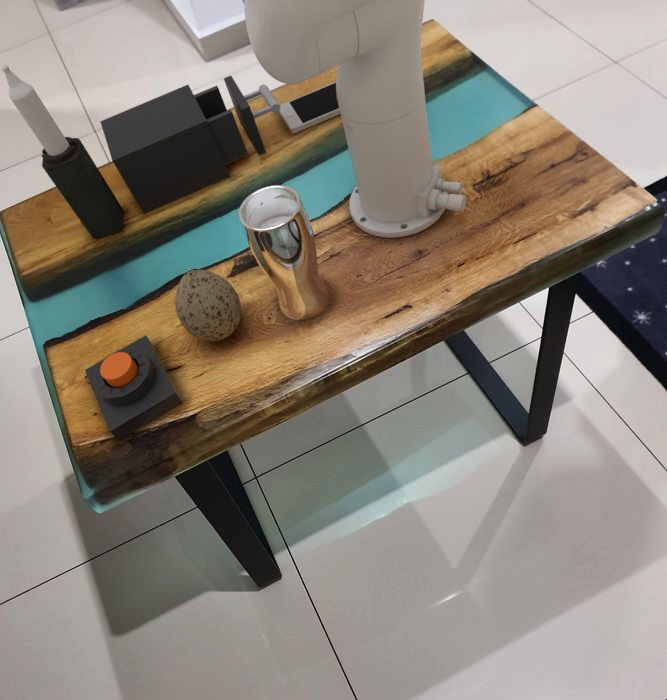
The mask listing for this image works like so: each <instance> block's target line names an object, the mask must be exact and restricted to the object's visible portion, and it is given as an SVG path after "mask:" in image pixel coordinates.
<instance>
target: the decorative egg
mask: <svg viewBox="0 0 667 700" xmlns="http://www.w3.org/2000/svg"><path fill="white" fill-rule="evenodd" d="M174 298H175V299H174V305H175V312H176V316H177V318H178V321H179V322H180V324H181V326H182V327H183V328H184V329H185V330H186V331H187V332H188V333H189V334H190V335H191V336H192V337H195V338H196V339H199V340H201V341H205V342H217V341H218V342H219V341H221V340H224V339H226V338H228V337H230V336H231V335H232V334H233V333H234V332H235V331H236V329H237V328H238V326H239V325H240V322H241V318H242V303H241V299H240V296H239V295H238V292H237V291H236V289H235V288H234V287H233V286H232V284H231V283H230V282H229V281H228V280H227V279H225V278H224V277H223V276H221V275H219V274H218V273H215V272H213V271H210V270H207V269H206V270H205V269H192V270H189V271H187V272H186V273H185V274H184V275H183V276H182V278H181V279H180V281H179V282H178V285H177V287H176V293H175V297H174Z"/></svg>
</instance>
